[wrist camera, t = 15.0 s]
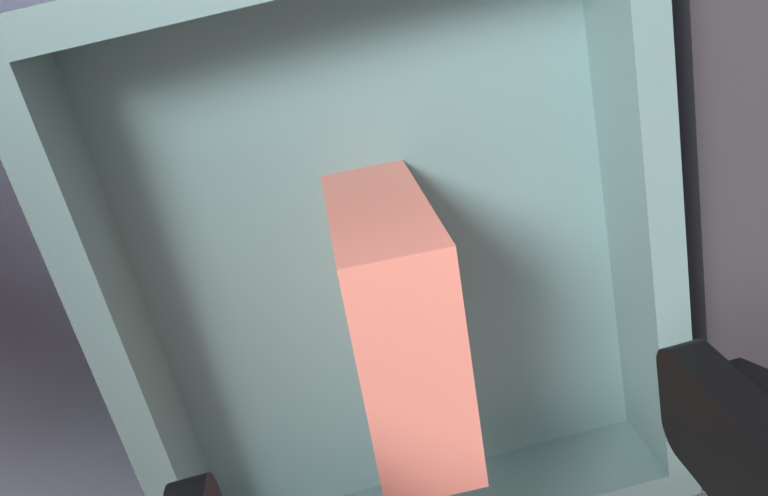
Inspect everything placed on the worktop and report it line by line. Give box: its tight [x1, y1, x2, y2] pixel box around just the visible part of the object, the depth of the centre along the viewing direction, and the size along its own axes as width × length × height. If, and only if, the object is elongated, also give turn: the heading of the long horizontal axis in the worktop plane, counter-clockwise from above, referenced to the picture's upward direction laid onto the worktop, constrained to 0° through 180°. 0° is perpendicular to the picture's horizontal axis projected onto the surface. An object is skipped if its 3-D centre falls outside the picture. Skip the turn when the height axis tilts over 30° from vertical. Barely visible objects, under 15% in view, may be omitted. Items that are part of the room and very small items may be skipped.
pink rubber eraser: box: [320, 160, 489, 496], centre depth 19 cm, size 6×2×7 cm, turn 9°
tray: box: [0, 0, 702, 496], centre depth 21 cm, size 18×16×4 cm
